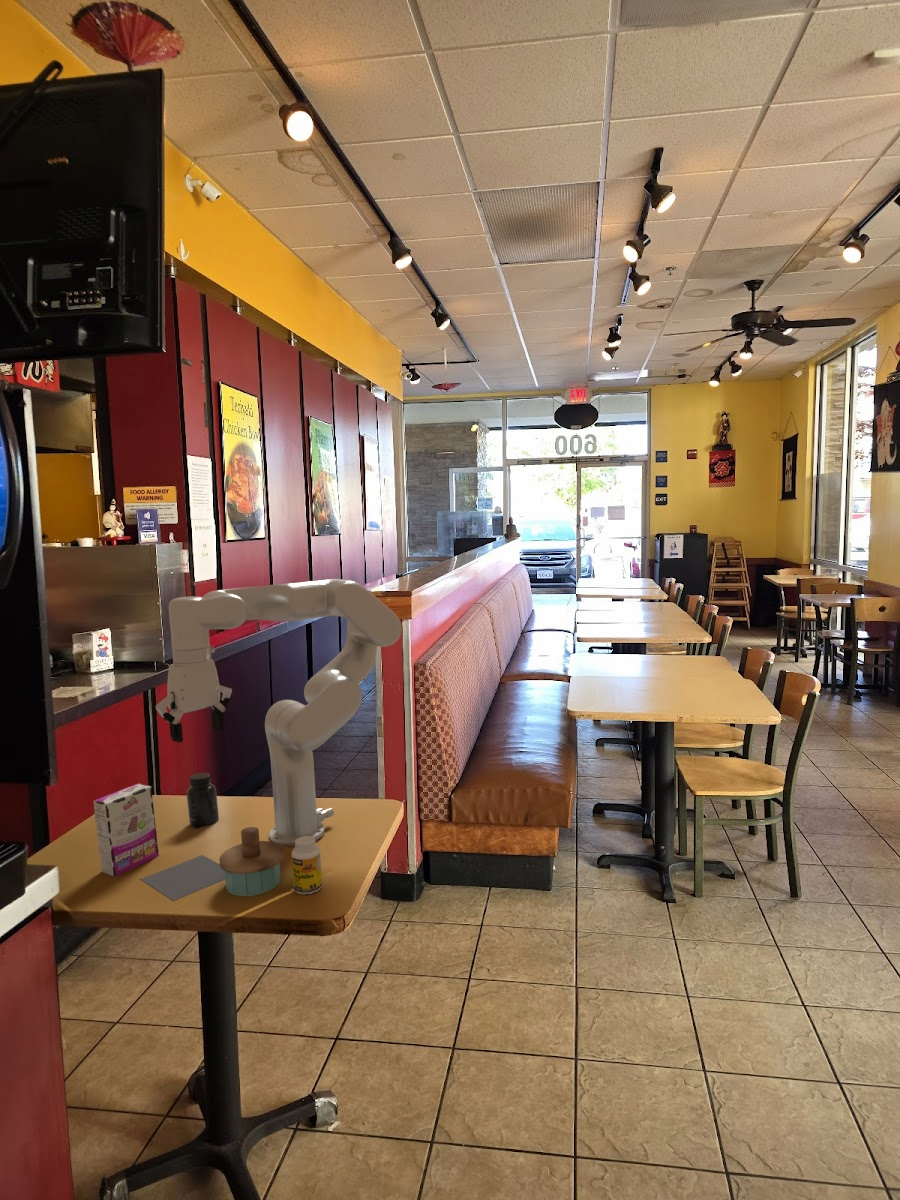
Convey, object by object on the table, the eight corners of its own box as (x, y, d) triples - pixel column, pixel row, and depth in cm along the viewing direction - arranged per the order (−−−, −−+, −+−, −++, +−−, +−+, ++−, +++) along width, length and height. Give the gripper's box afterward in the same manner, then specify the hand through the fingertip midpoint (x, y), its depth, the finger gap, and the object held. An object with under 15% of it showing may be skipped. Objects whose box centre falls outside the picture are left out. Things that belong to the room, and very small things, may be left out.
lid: (260, 840, 164) (258, 813, 164) (296, 856, 156) (294, 828, 155) (207, 861, 155) (205, 833, 155) (242, 880, 147) (239, 849, 146)
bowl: (261, 868, 164) (259, 843, 163) (291, 883, 157) (289, 857, 156) (216, 887, 156) (214, 861, 155) (245, 904, 149) (243, 877, 148)
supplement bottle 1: (207, 815, 194) (203, 769, 192) (224, 821, 190) (220, 773, 188) (183, 825, 188) (179, 777, 187) (201, 831, 184) (196, 782, 183)
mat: (202, 857, 170) (202, 854, 170) (237, 876, 160) (237, 873, 160) (140, 881, 160) (140, 879, 160) (173, 903, 150) (173, 900, 150)
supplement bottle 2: (289, 895, 152) (286, 845, 150) (299, 881, 157) (296, 833, 156) (317, 896, 151) (313, 846, 149) (326, 883, 156) (323, 834, 155)
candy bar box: (145, 853, 173) (138, 782, 171) (159, 857, 171) (153, 785, 169) (99, 874, 164) (92, 799, 162) (114, 879, 161) (106, 803, 159)
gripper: (217, 647, 171) (223, 723, 174) (143, 661, 158) (150, 743, 160) (237, 650, 167) (243, 728, 169) (163, 665, 154) (170, 749, 156)
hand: (198, 735), depth 165 cm, fingers open, 9 cm apart
